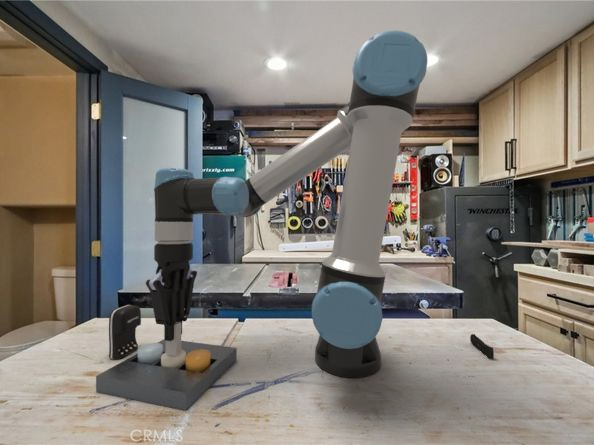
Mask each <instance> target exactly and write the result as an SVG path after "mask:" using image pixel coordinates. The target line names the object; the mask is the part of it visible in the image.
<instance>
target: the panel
mask: <svg viewBox="0 0 594 445" xmlns="http://www.w3.org/2000/svg"><path fill="white" fill-rule="evenodd" d="M157 343H161V344H162V345H163V354H164V353H166V341H165V339H162V340H160V341H158V342H157ZM237 348H238V347H235V346H234V347H232V346H227V345H226V346H225V345H219V344H218V345H217V344H210V343H202V342H196V341H195V342H194V341H188V340H181V350H184V351H185V352H186V355H187V354H188V353H189V352H191V351H194V350H199V349H205V350H209V351H210V367H209V368H207V369H206V370H205V371H204V372H203V373H197V372H191V371H186V362H185V363H183V364H182V365H180V366H179V367H178V368H176V369H173V368H167V367H161V359H160V360H158V361H156V362H155V363H153V364H152V365H149V364H143V363H138V353H136V354H134V355H132V356H131V357H128V358H126V359H124V360H123V361H121V362H119V363H117V364H115V365H114V366H112V367H110V368H109V369H106V370H104V371H103V372H100V373H99V374H97V375H96V377H95V392H96V393H100V394H104V395H109V396H114V397H118V398H123V399H129V400H132V401H139V402H142V403H143V402H144V403H148V404H153V405H156V406H157V405H158V406H162V407H167V408H172V409H175V410H182V411H188V410H189V409H190V408H191V406H192V405H193V404H194V403H196V402H197V401H198V400H199V398H201V396H203V395H204V393H206V392H207V391H208V390H209V389H210V388H211V387H212V386H213V385H214V384H215V383H216V382H217V381H218V380H219V379H220V378H221V377H222V376H223V375H224V374H225V373H226V372H227V371H228V370H229V369H230V368H231V367H232V366H233V365H234V364H235V363H236V362H237V361H238V360H237V358H238V357H237V353H238V352H237V350H238V349H237Z"/></svg>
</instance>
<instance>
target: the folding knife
mask: <svg viewBox="0 0 594 445" xmlns="http://www.w3.org/2000/svg"><path fill="white" fill-rule="evenodd" d="M469 338H470V340H469V341H470V344H471V345H472V346H473V347H475V349H477V350H478V351H479V352H480V351H481V352H482V353H481V352H480V353H481V354H483V355H484V356H485V355H486V356H487V357H488V359H494V356H495V353H494V348H493V347H492V346H490V345H489V344H486V343H485V342H484V341H483V340H482V339H481V338H479V337H478V336H476V334H475V333H471V334H470V337H469ZM486 356H485V357H486ZM487 357H486V358H487Z"/></svg>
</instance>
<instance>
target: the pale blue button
mask: <svg viewBox="0 0 594 445" xmlns="http://www.w3.org/2000/svg"><path fill="white" fill-rule="evenodd" d="M137 354H138V363H143V364H149V365H152V364H153V363H155V362H156V361H158V360H160V359H161V356H162V355H163V345H162V344H161V343H158V342H151V343H146V344H143V345H141V346H140V347H138V348H137Z"/></svg>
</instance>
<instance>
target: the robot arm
mask: <svg viewBox="0 0 594 445" xmlns="http://www.w3.org/2000/svg"><path fill="white" fill-rule="evenodd" d="M427 67H428V54H427V51H426V48H425V46H424V44H423V43H422V42H420V40H419V39H418V38H417V37H416V36H415V35H413V34H412V33H409V32H406V31H402V30H393V29H392V30H386V31H382V32H381V31H380V32H379V33H377V34H374V35H373V36H372V37H371V38H369V39H368V40H366V41H365V42H364V43H363V44H362V45H361V46H360V47H359V49H358V50H357V53H356V56H355V58H354V61H353V63H352V76H353V79H352V86H351V93H350V100H349V102H348V103H347V104H346V105H344V107H341V109H339V110H338V111H337V115H336V117H335V118H334V119H332V120H331V121H330V122H328V123H327V124H325V125H324V126H323V127H321V128H320V129H318V130H317V131H314V133H312V134H311V135H309V136H308V137H307V138H304V139H303V140H302V141H301V142H299V143H298V144H296V145H295V146H293V147H292V148H290V149H289V150H287V151H286V152H284V154H281V155H280V156H279V157H277V158H276V159H275V160H273V161H272V162H270V163H269V164H267V165H266V166H265V167H263V168H261V169H260V170H259V171H257V172H256V173H254V174H252V175H251V176H250V177H248V178H247V179H245V180H244V179H243V178H241V177H233V176H231V177H230V176H221V177H208V178H206V177H203V178H194V173H193V172H192V171H191V170H189V169H185V168H180V167H176V168H175V167H164V168H162V167H161V168H159V169H158V170H157V171H156V172H155V180H154V188H153V191H154V215H155V216H154V241H155V242H157V243H155V244H154V247H153V248H154V254H153V256H154V257H153V259H154V261H155V262H157V267H156V270H155V276H154V277H153V278H152V279H147V280H146V281H145V286H146V287H147V288H148V290H149V293H150V298H151V299H150V300H151V303H152V304H151V305H152V309H153V315H154V319H155V324H156V325H163V328H164V330H163V332H164V333H163V336H164V339H165V341H166V355H173V356H177V355H179V354H180V353H181V341H182V335H183V322H186V321H187V320H188V317H186V316H189V315H190V312H191V304H192V300H193V291H194V284H195V280H196V278H197V275H198V272H197V270H192V269H191V264H190V263H189V262H190V261H191V260H193V258H194V244H193V243H191V241H193V240H194V215H222V216H235V217H241V218H249V217H252V216H255V215H257V214H258V213H259V212H260V210H261V209H262V207H263V206H264V205H265V204H267V203H268V202H270V201H272V200H273V199H275V198H276V197H278V196H279V195H281V194H282V193H283V192H285V191H287V190H288V189H290V188H291V187H293V186H295V185H296V184H297V183H299V182H300V181H302V180H303V179H305V178H306V177H308V176H309V175H311V174H313V173H314V172H316V171H317V170H318V169H320V168H322V167H323V166H324V165H326V164H328V163H329V162H331V161H332V160H333V159H335V158H336V157H339V156H340V155H342V154H343V153H344V152H346V151H349V153H348V157H347V158H348V159H347V164H346V170H345V176H344V182H343V186H342V187H343V188H342V193H341V198H340V205H339V211H338V216H337V223H336V227H335V228H336V229H335V235H334V239H333V244H332V245H333V246H332V252H331V254H330V255H329V256H327V257H326V258H324V259H323V260H322V261H321V262H322V263H321V268H320V272H319V273H320V274H319V278H318V283H317V284H318V286H317V291H316V294H315V296H314V298H313V299H312V304H311V318H312V322H313V326H314V328H315V329H316V331H317V332H318V334H319V337H318V339H317V343H316V346H315V349H314V350H315V351H314V352H315V353H314V360H315V363H316V365H317V366H318V367H319V368H320V369H321V370H323V371H324V372H326V373H329V374H331V375H335V376H339V377H343V378H344V377H345V378H364V376H365V377H368V375H369V376H372V375H375V374H376V373H377V372H379V370H381V368H382V352H381V350H380V347H379V343H378V340H377V335H378V333H379V332H380V329H381V326H382V323H383V322H382V321H383V317H384V316H383V310H382V306H381V304H382V298H383V291H384V285H385V279H386V272H385V270H384V269H383V268H382V266H381V264H380V258H381V252H382V248H383V247H382V245H383V240H384V234H385V229H386V224H387V218H388V212H389V206H390V201H391V194H392V190H393V183H394V178H395V171H396V167H397V166H396V165H397V160H398V155H399V149H400V145H401V139H402V138H401V137H402V133H403V132H404V131H406V130H407V129H408V128H409V127H411V125H412V124H413V122H414V116H415V110H416V105H417V99H418V95H419V94H418V93H419V88H420V85H421V84H422V82H423V80H424V78H425V77H426V73H427ZM380 367H381V368H380ZM375 372H376V373H375ZM371 374H372V375H371Z"/></svg>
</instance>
